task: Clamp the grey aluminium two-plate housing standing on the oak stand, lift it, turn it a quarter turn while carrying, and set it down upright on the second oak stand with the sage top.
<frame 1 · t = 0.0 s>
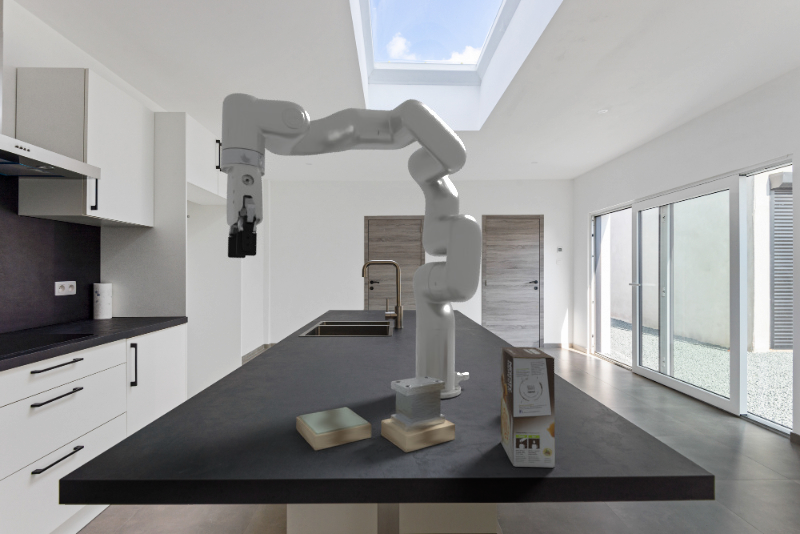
hand: (241, 256, 71), 31 cm above the countertop, tool pointing down, fingers open, 9 cm apart
housing: (417, 422, 66), point 2 cm above the countertop, touching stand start
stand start: (417, 436, 66), on the countertop
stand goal: (332, 433, 68), on the countertop
coffee box: (525, 455, 60), on the countertop
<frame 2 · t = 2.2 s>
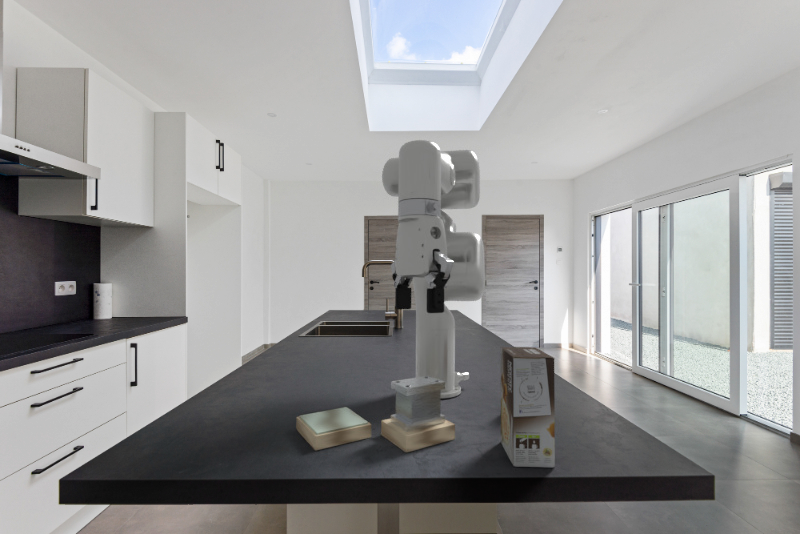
hand: (418, 310, 67), 22 cm above the countertop, tool pointing down, fingers open, 9 cm apart
nothing on the countertop moved.
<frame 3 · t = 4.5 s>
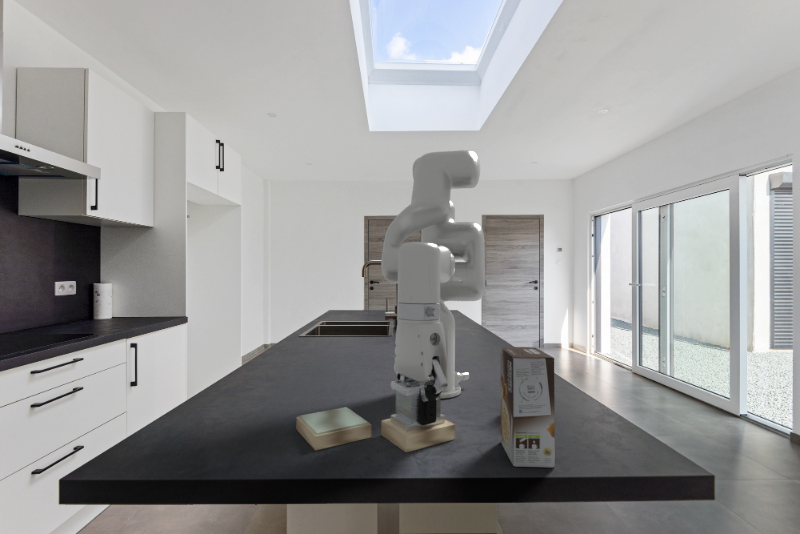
hand: (417, 416, 66), 3 cm above the countertop, tool pointing down, fingers closed on housing, 5 cm apart
housing: (417, 422, 66), point 2 cm above the countertop, touching gripper, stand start
everything else where it was.
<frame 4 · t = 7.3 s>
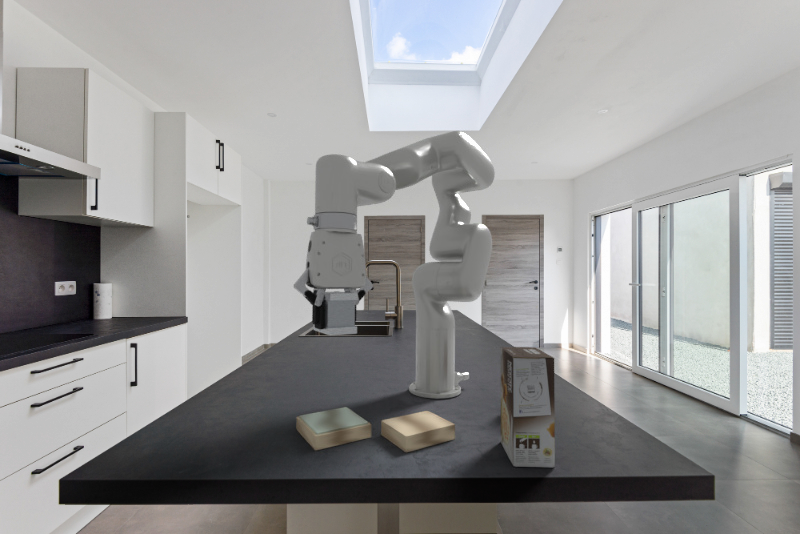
hand: (334, 326, 68), 19 cm above the countertop, tool pointing down, fingers closed on housing, 5 cm apart
housing: (334, 331, 68), point 18 cm above the countertop, touching gripper
everything else where it was.
when the fingers open (4 cm above the countertop, at t = 10.2 s): housing stays where it is, resting on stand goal.
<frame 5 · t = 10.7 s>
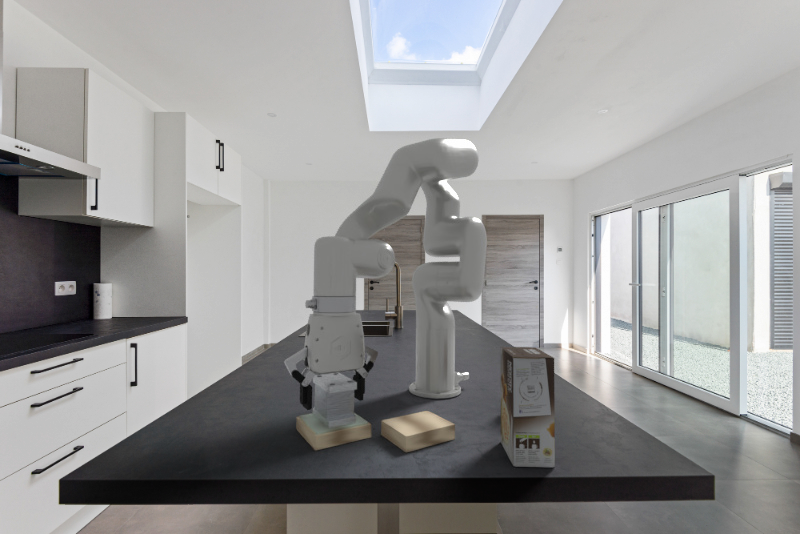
hand: (333, 402, 68), 5 cm above the countertop, tool pointing down, fingers open, 9 cm apart
housing: (333, 418, 68), point 2 cm above the countertop, touching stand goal
everything else where it was.
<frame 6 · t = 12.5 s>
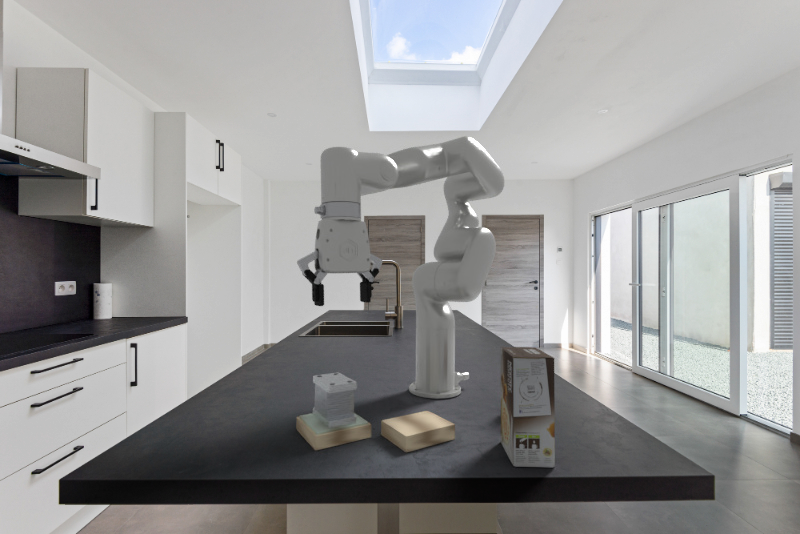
hand: (343, 303, 73), 23 cm above the countertop, tool pointing down, fingers open, 9 cm apart
nothing on the countertop moved.
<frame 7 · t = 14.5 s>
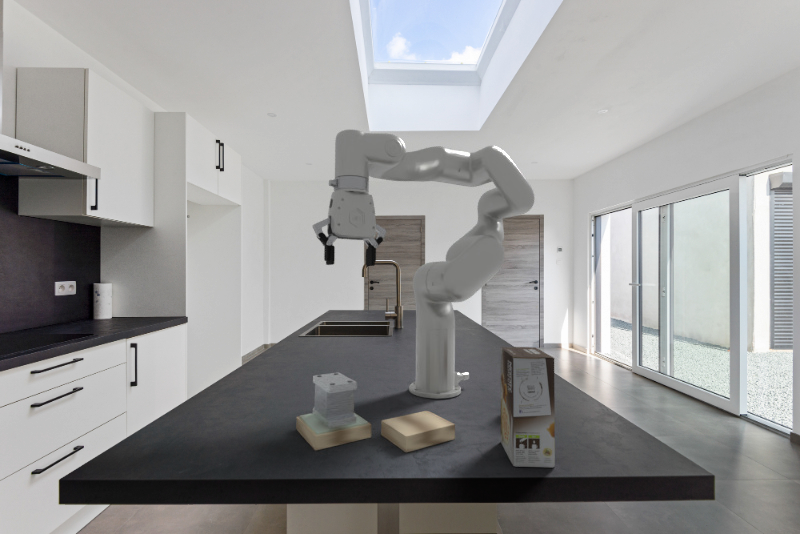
hand: (350, 265, 84), 30 cm above the countertop, tool pointing down, fingers open, 9 cm apart
nothing on the countertop moved.
at the end: housing inside the target area on the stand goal (0.2 cm from its centre), point 2.5 cm above the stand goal's base; housing tilted 0°; the gripper is holding nothing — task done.
